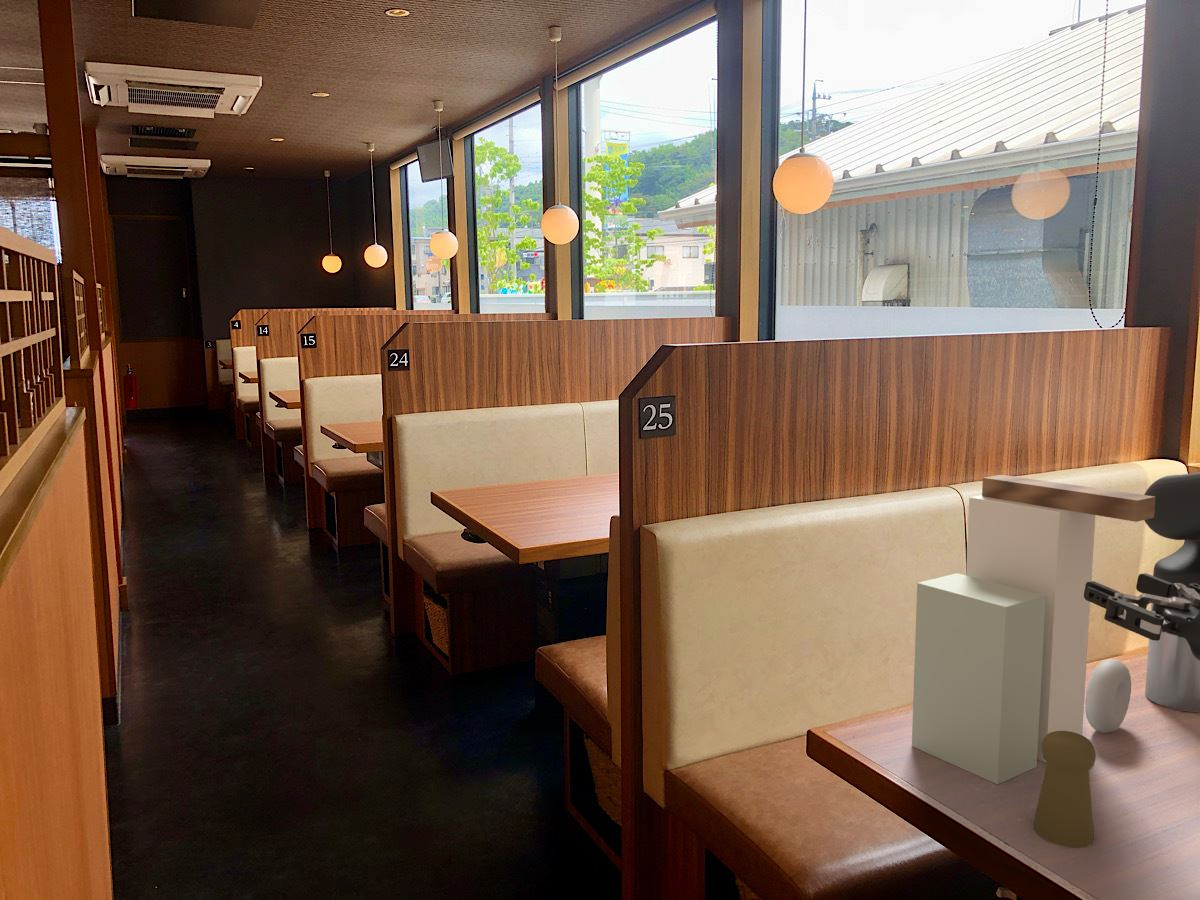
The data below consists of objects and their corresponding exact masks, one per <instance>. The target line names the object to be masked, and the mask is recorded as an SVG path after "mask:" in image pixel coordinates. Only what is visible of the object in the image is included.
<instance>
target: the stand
mask: <svg viewBox="0 0 1200 900" xmlns="http://www.w3.org/2000/svg"><path fill="white" fill-rule="evenodd" d="M967 523H968V524H967V540H966V541H967V545H966V567H965V568H966V569H965V574H962V573H957V572H955V573H953V574H947V575H943V576H940V577H939V576H938V577H937V578H933V579H927V580H923V581H919V582H916V583H917V585H916V610H915V612H916V613H915V615H916V616H915V635H914V636H915V637H914V638H915V642H914V667H913V668H914V669H913V671H914V672H913V673H914V674H913V696H912V697H913V699H912V700H913V702H912V725H911V726H912V730H911V732H912V733H911V746H912V747H914V748H915V749H917V750H920V751H923V752H924V753H926V754H929V755H931V756H933V757H936V758H938V759H940V760H942V761H944V762H946V763H949V764H951V765H953V766H956V767H958V768H960V769H962V770H964V771H967V772H969V773H971V774H973V775H976V776H978V777H980V778H982V779H984V780H986V781H989V782H991V783H993V784H996V785H1000V784H1002V783H1004V782H1006V781H1009V780H1011V779H1013V778H1015V777H1017V776H1020V775H1022V774H1024V773H1026V772H1028V771H1030V770H1032V769H1035V768H1037V766H1038V765H1037V764H1038V762H1037V761H1038V760H1039V761H1042V762H1044V763H1046V761H1045V759H1044V758H1043V755H1042V742H1043V739H1044V738H1045V737H1046V735H1047V734H1048V733H1051V732H1054V731H1069V732H1074V733H1078V734H1080V735H1083V728H1084V727H1083V726H1084V711H1085V698H1086V696H1085V694H1086V678H1087V660H1088V647H1089V646H1088V644H1089V627H1090V608H1091V602H1089V601H1087V600H1085V598H1084V591H1085V585H1086V583H1087V582H1090V581H1093V580H1092V578H1093V577H1092V575H1093V561H1094V547H1095V545H1094V543H1095V530H1096V528H1095V527H1096V515H1092V514H1086V513H1080V512H1074V511H1068V510H1062V509H1056V508H1050V507H1044V506H1038V505H1032V504H1026V503H1020V502H1014V501H1008V500H1002V499H996V498H990V497H984V496H982V494H981V495H976V496H969V498H968V520H967Z"/></svg>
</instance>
